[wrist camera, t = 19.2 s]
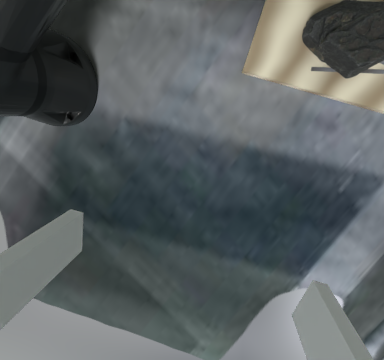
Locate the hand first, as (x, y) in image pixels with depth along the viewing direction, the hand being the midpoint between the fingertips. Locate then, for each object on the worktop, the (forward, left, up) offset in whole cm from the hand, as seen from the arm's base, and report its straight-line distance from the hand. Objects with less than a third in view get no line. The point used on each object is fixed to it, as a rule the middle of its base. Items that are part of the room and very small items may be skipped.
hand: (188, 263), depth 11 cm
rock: (+12, +21, -25) cm, 35 cm away
